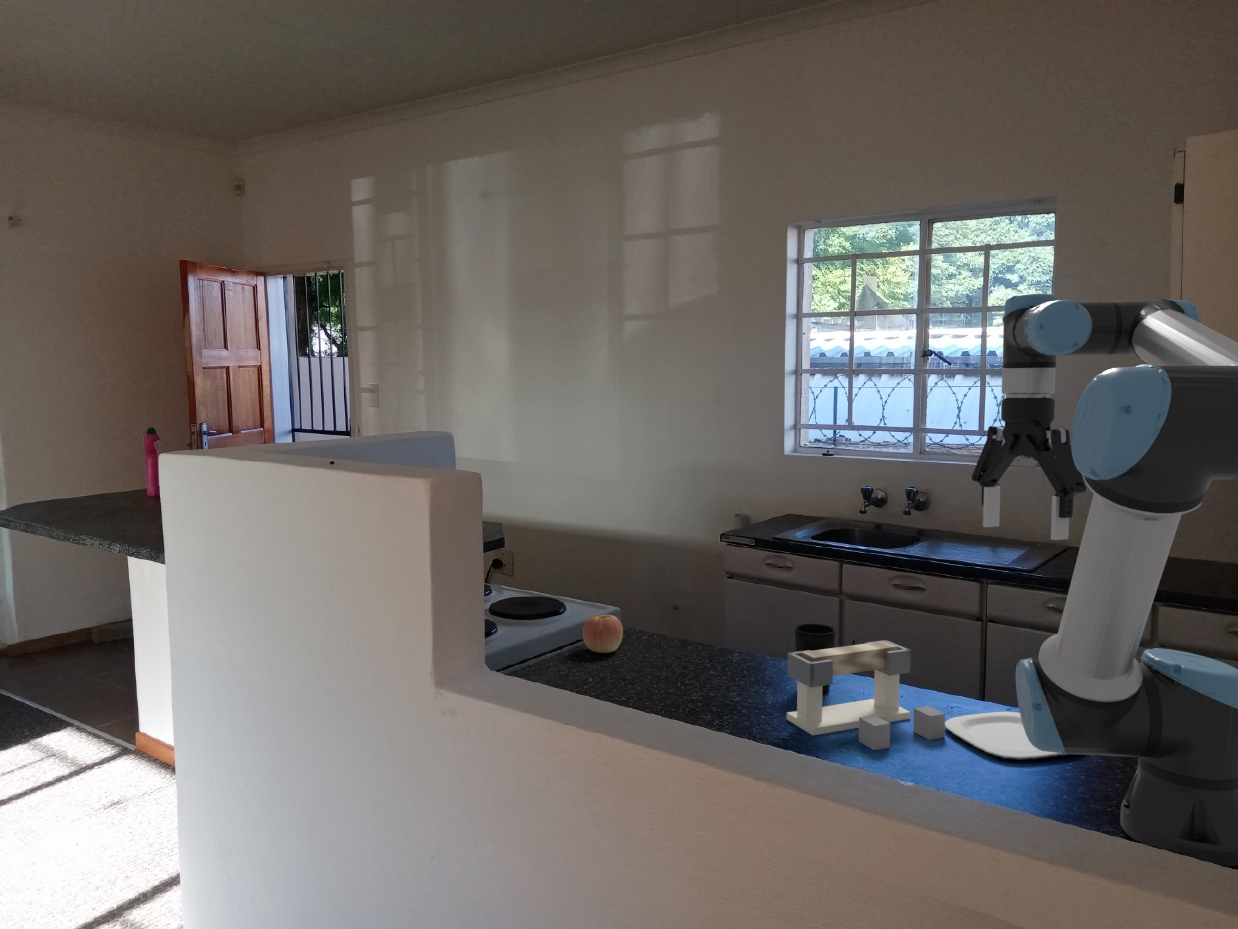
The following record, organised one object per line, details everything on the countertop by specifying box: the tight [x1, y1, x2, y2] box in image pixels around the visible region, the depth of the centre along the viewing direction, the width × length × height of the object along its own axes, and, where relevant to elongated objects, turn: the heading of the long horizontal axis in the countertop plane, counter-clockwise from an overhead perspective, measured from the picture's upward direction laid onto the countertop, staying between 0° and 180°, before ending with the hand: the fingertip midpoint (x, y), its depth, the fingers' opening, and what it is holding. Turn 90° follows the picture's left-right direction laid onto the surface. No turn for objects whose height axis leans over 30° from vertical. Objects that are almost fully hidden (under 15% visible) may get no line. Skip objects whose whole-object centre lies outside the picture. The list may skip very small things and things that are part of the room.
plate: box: [945, 711, 1069, 761], centre depth 147 cm, size 18×18×2 cm
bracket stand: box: [786, 639, 912, 736], centre depth 156 cm, size 8×21×12 cm, turn 112°
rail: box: [802, 640, 897, 677], centre depth 156 cm, size 17×4×4 cm, turn 112°
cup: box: [793, 623, 837, 696], centre depth 171 cm, size 8×8×12 cm
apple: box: [582, 614, 624, 654], centre depth 198 cm, size 9×9×8 cm
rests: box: [858, 705, 946, 751], centre depth 148 cm, size 4×14×4 cm, turn 112°
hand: (1023, 532), depth 141 cm, fingers open, 13 cm apart
